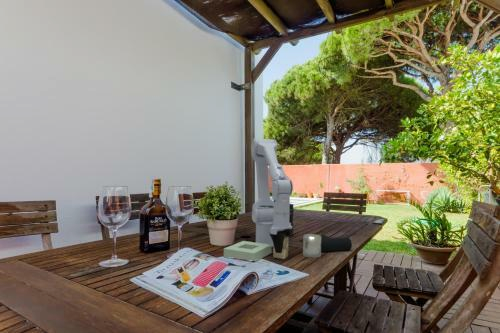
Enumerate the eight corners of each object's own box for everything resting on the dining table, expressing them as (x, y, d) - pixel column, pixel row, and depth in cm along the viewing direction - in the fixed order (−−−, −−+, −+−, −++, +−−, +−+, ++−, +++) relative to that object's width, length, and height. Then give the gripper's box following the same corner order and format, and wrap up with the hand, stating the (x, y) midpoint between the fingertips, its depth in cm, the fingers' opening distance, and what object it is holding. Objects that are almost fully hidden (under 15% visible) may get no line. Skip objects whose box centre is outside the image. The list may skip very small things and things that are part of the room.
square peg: (277, 254, 110) (278, 235, 110) (288, 256, 108) (288, 236, 108) (273, 257, 106) (273, 237, 106) (284, 258, 104) (284, 238, 104)
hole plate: (243, 248, 118) (243, 240, 118) (271, 252, 112) (271, 244, 112) (223, 257, 105) (223, 248, 105) (254, 262, 100) (254, 253, 100)
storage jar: (270, 236, 141) (270, 204, 141) (275, 232, 150) (275, 202, 151) (291, 238, 138) (291, 205, 138) (295, 234, 147) (295, 203, 147)
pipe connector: (303, 233, 123) (335, 232, 128) (303, 246, 123) (334, 244, 128) (317, 240, 112) (351, 238, 117) (317, 254, 112) (351, 252, 117)
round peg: (306, 251, 114) (306, 233, 114) (322, 254, 111) (323, 235, 111) (300, 256, 108) (301, 236, 109) (318, 258, 106) (318, 238, 106)
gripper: (284, 216, 99) (283, 257, 99) (298, 211, 112) (298, 248, 112) (265, 214, 102) (264, 254, 102) (281, 210, 115) (280, 245, 115)
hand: (280, 251), depth 107 cm, fingers closed on square peg, 4 cm apart
